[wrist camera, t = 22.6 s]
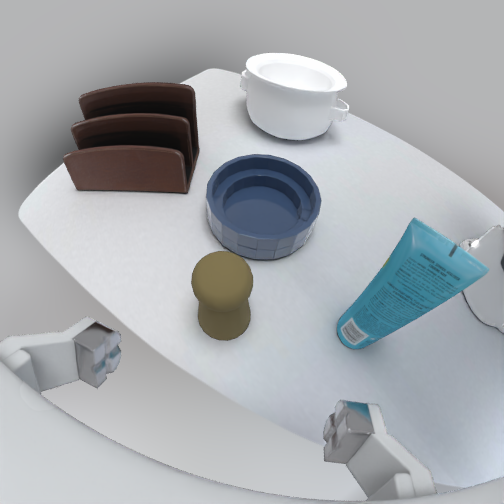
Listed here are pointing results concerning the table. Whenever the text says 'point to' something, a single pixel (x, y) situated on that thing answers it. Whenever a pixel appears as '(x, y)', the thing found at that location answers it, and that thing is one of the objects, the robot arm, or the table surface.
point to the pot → (293, 95)
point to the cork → (223, 294)
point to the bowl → (262, 206)
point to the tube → (409, 285)
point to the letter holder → (135, 138)
